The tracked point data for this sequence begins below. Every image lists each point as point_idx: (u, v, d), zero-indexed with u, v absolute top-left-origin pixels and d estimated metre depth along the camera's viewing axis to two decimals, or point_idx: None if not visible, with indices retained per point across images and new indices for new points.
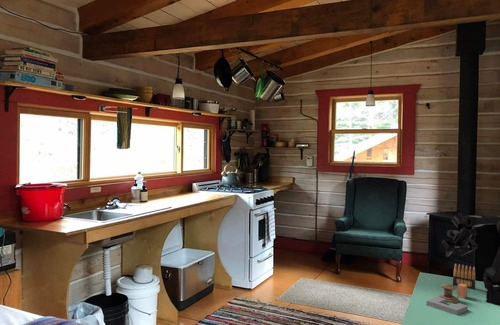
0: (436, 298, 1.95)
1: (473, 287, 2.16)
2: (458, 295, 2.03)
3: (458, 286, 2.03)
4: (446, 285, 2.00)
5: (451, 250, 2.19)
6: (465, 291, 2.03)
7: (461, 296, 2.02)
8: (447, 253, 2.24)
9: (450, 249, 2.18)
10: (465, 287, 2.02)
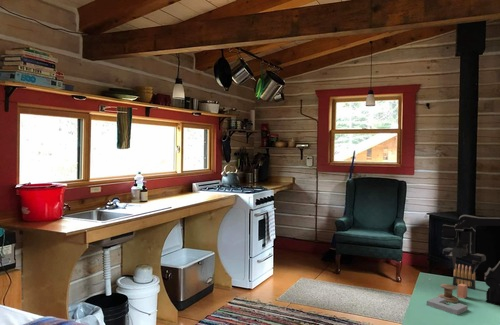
0: (436, 298, 1.95)
1: (473, 287, 2.16)
2: (458, 295, 2.03)
3: (458, 286, 2.03)
4: (446, 285, 2.00)
5: None
6: (465, 291, 2.03)
7: (461, 296, 2.02)
8: (475, 268, 1.99)
9: None
10: (465, 287, 2.02)
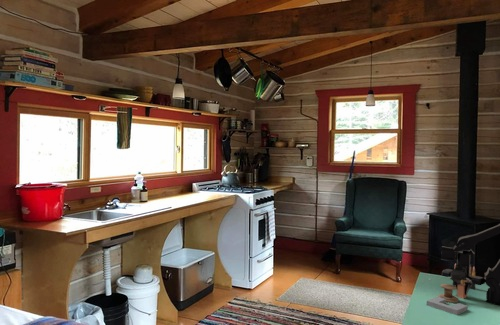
0: (436, 298, 1.95)
1: (473, 287, 2.16)
2: (458, 295, 2.03)
3: (458, 286, 2.03)
4: (446, 285, 2.00)
5: None
6: None
7: (461, 296, 2.02)
8: (468, 289, 2.02)
9: None
10: None
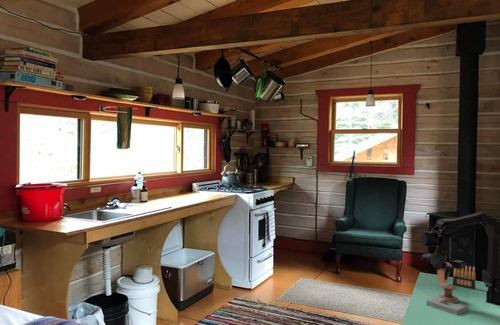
0: (436, 298, 1.95)
1: (473, 287, 2.16)
2: (438, 280, 1.94)
3: (438, 271, 1.94)
4: (446, 285, 2.00)
5: None
6: None
7: (441, 281, 1.93)
8: (448, 274, 1.93)
9: None
10: None
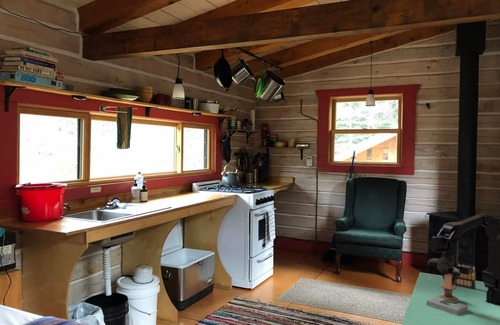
0: (436, 298, 1.95)
1: (473, 287, 2.16)
2: (445, 286, 1.89)
3: (445, 276, 1.89)
4: None
5: None
6: None
7: (448, 287, 1.88)
8: (456, 279, 1.87)
9: None
10: None
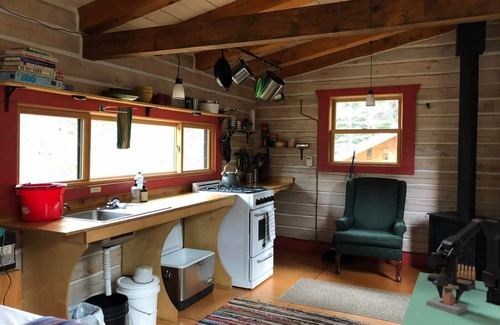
0: (436, 298, 1.95)
1: (473, 287, 2.16)
2: None
3: (444, 295, 1.89)
4: None
5: None
6: (452, 301, 1.88)
7: None
8: (459, 297, 1.86)
9: None
10: (452, 296, 1.88)
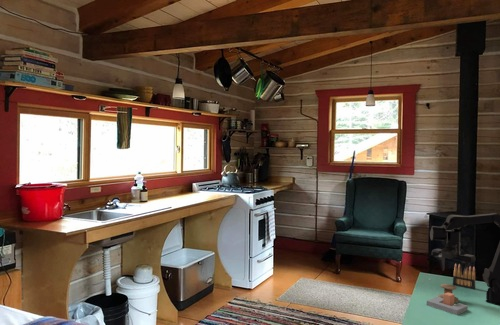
0: (436, 298, 1.95)
1: (473, 287, 2.16)
2: None
3: (444, 295, 1.89)
4: (446, 285, 2.00)
5: None
6: (452, 301, 1.88)
7: None
8: (465, 269, 1.96)
9: None
10: (452, 296, 1.88)
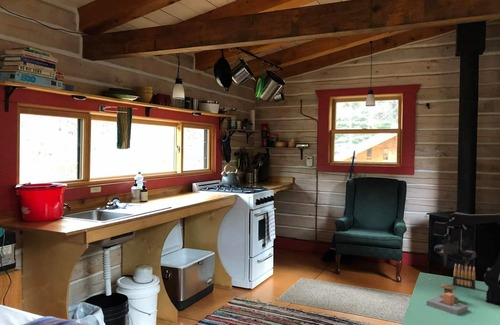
0: (436, 298, 1.95)
1: (473, 287, 2.16)
2: None
3: (444, 295, 1.89)
4: (446, 285, 2.00)
5: None
6: (452, 301, 1.88)
7: None
8: (466, 265, 2.04)
9: None
10: (452, 296, 1.88)
